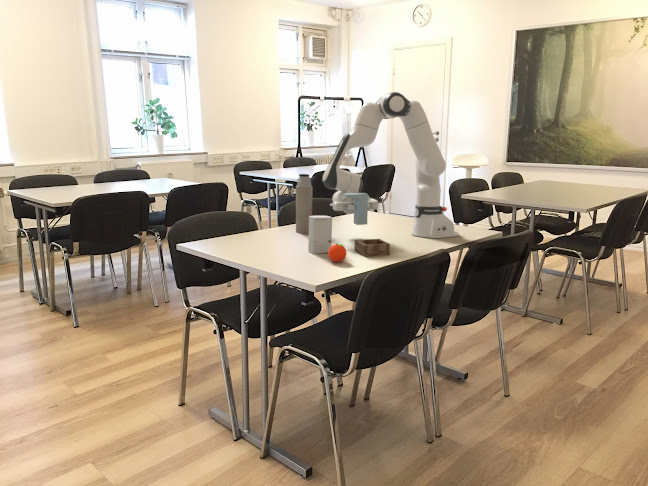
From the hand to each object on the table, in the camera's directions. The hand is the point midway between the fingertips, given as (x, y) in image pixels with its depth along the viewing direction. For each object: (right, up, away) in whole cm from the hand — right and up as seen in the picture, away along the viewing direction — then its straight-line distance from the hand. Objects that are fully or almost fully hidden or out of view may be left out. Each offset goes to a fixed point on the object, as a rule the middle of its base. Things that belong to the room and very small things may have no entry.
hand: (361, 207), depth 228 cm
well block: (+4, -19, -9) cm, 21 cm away
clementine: (-10, -22, -24) cm, 35 cm away
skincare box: (-18, -19, -8) cm, 27 cm away
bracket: (-3, -7, +2) cm, 7 cm away
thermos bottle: (-26, -10, +35) cm, 44 cm away
